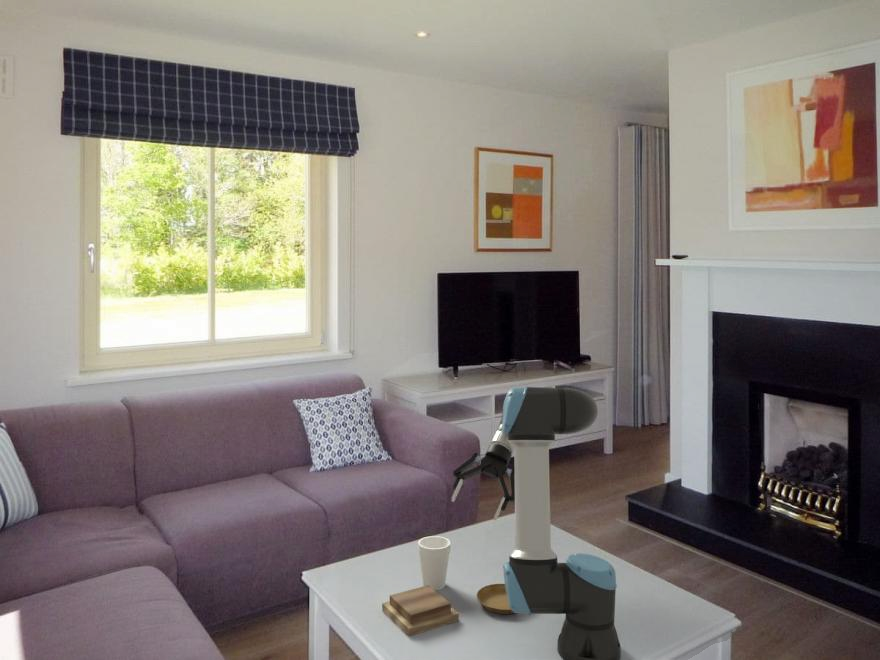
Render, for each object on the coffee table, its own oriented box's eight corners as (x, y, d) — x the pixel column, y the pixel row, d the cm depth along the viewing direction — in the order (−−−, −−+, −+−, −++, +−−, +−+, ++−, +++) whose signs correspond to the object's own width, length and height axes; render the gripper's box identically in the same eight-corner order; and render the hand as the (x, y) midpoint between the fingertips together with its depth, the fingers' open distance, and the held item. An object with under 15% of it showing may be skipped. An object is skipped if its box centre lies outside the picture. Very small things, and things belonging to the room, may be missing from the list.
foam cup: (413, 590, 208) (413, 546, 207) (423, 576, 217) (423, 534, 215) (445, 595, 205) (445, 551, 204) (454, 580, 214) (454, 538, 213)
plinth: (458, 620, 191) (458, 604, 191) (408, 636, 184) (408, 619, 183) (430, 596, 204) (430, 581, 204) (382, 610, 196) (382, 594, 196)
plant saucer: (532, 618, 193) (533, 609, 193) (477, 618, 193) (477, 608, 193) (527, 592, 208) (527, 583, 207) (475, 591, 208) (475, 583, 208)
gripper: (537, 470, 224) (512, 531, 213) (463, 439, 230) (435, 497, 219) (540, 459, 218) (514, 521, 207) (464, 428, 224) (435, 486, 212)
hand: (473, 509), depth 213 cm, fingers open, 13 cm apart
